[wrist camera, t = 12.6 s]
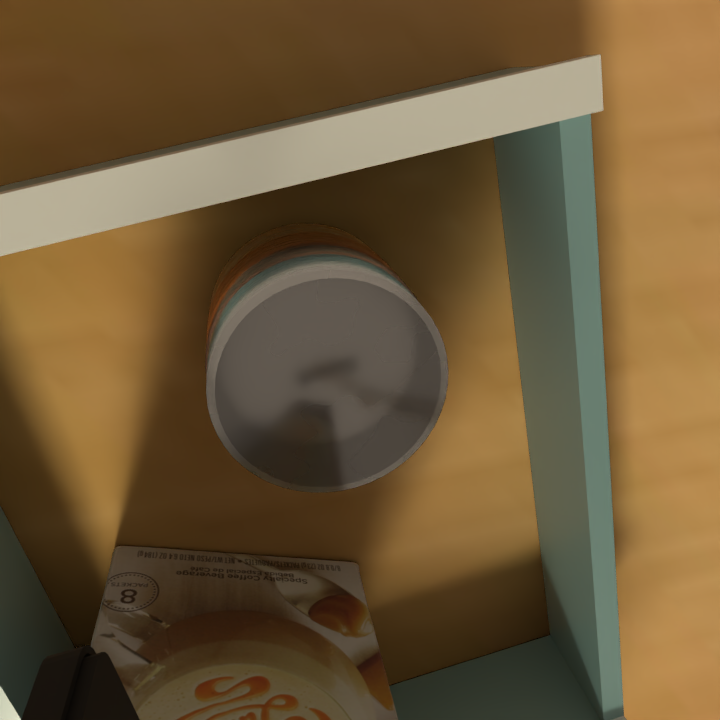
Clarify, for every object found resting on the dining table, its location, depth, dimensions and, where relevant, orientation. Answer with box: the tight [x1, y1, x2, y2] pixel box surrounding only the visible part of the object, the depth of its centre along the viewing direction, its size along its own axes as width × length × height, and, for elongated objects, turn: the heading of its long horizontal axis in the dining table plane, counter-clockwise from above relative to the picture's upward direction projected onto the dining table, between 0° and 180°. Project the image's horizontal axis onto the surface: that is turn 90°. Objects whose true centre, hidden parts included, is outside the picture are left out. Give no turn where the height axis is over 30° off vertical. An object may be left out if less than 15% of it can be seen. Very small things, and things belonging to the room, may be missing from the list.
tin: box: [205, 223, 448, 492], centre depth 19 cm, size 6×6×6 cm
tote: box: [0, 55, 626, 720], centre depth 21 cm, size 20×24×5 cm
